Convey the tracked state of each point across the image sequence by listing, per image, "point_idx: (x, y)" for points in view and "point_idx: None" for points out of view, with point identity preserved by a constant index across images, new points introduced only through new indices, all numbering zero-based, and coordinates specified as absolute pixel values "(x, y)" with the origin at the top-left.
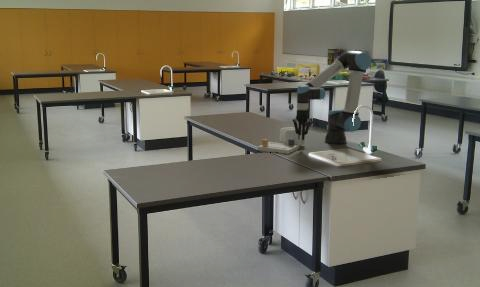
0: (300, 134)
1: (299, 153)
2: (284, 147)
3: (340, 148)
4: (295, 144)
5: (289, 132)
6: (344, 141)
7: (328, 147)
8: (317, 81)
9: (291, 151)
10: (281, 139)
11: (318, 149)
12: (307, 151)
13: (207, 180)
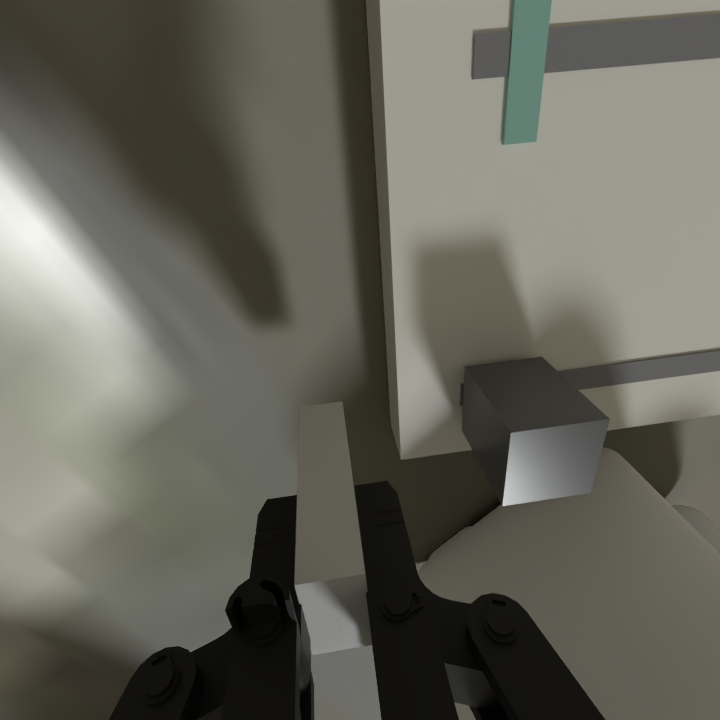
0: (369, 624)
1: (221, 181)
2: (562, 176)
3: (41, 682)
4: (491, 525)
5: (701, 656)
6: None
7: (161, 649)
8: None
9: (377, 147)
10: (709, 538)
11: (178, 544)
12: (212, 386)
13: None
